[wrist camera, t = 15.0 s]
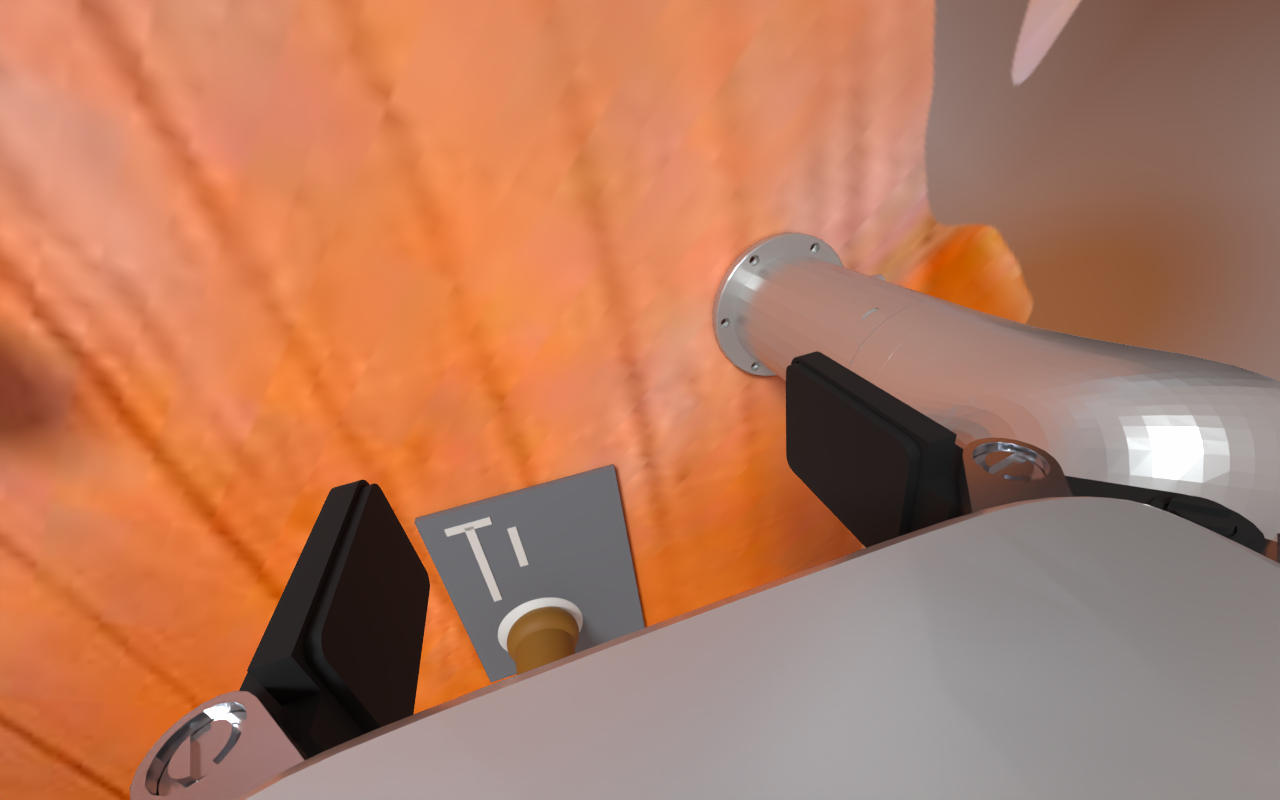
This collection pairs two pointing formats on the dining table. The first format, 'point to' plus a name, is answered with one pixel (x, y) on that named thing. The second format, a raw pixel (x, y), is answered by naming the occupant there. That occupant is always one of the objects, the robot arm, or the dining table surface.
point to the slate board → (537, 562)
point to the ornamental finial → (542, 638)
